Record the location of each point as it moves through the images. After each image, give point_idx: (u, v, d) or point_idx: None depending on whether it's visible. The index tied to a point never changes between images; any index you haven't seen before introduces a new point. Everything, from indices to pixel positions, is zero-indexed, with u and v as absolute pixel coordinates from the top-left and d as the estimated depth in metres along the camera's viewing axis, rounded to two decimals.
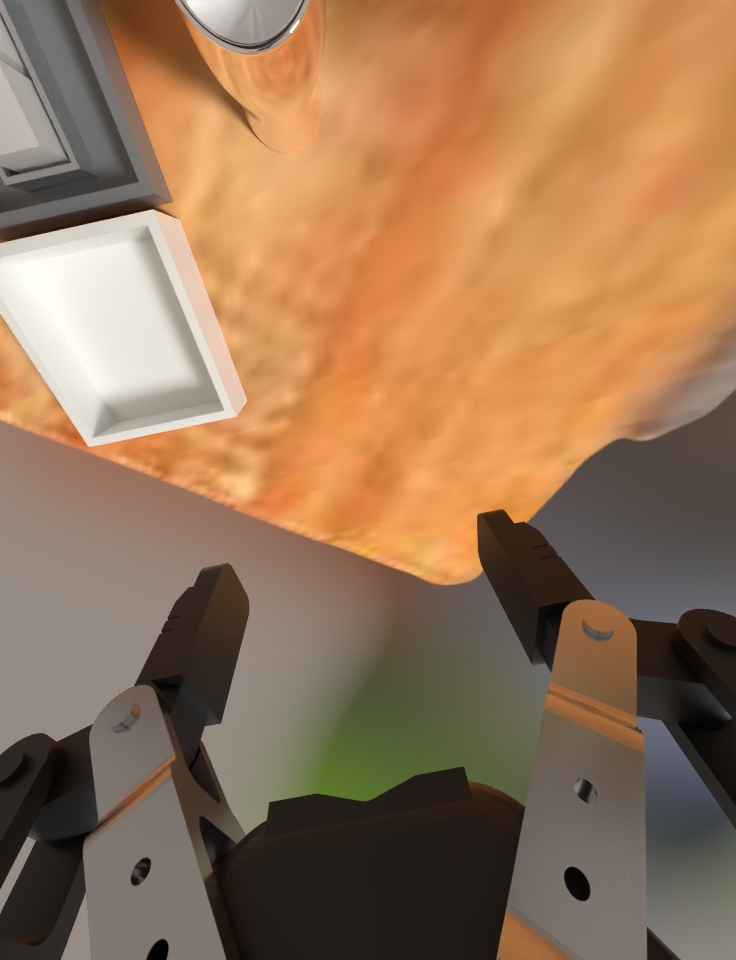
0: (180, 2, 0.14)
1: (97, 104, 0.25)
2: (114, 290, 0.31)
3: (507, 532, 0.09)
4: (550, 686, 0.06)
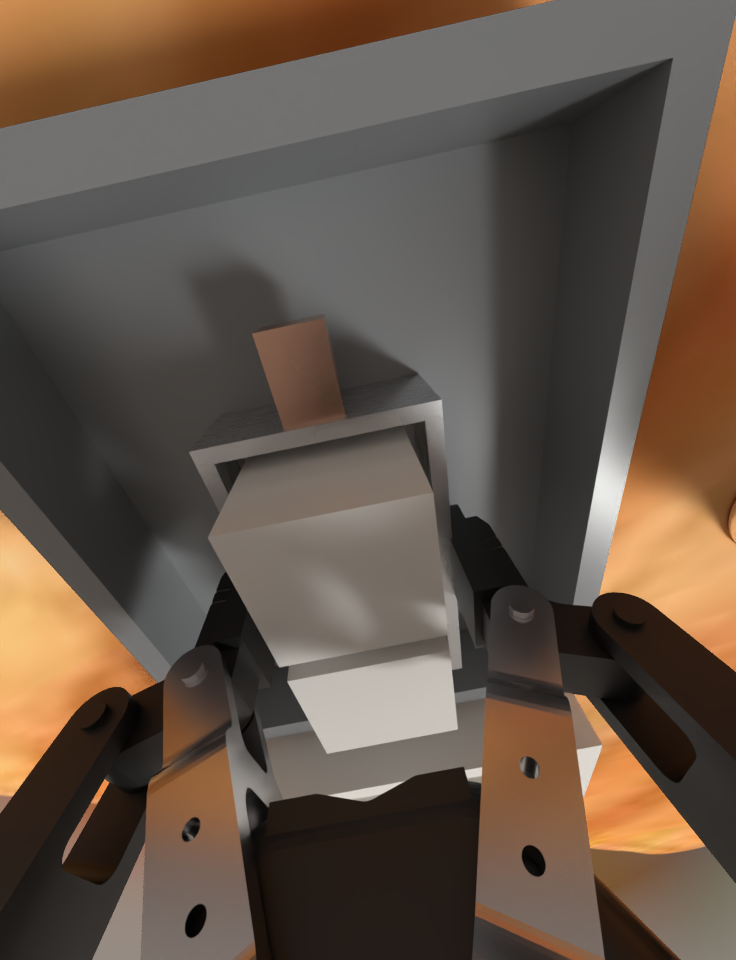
0: None
1: None
2: None
3: (457, 525, 0.10)
4: (488, 674, 0.06)
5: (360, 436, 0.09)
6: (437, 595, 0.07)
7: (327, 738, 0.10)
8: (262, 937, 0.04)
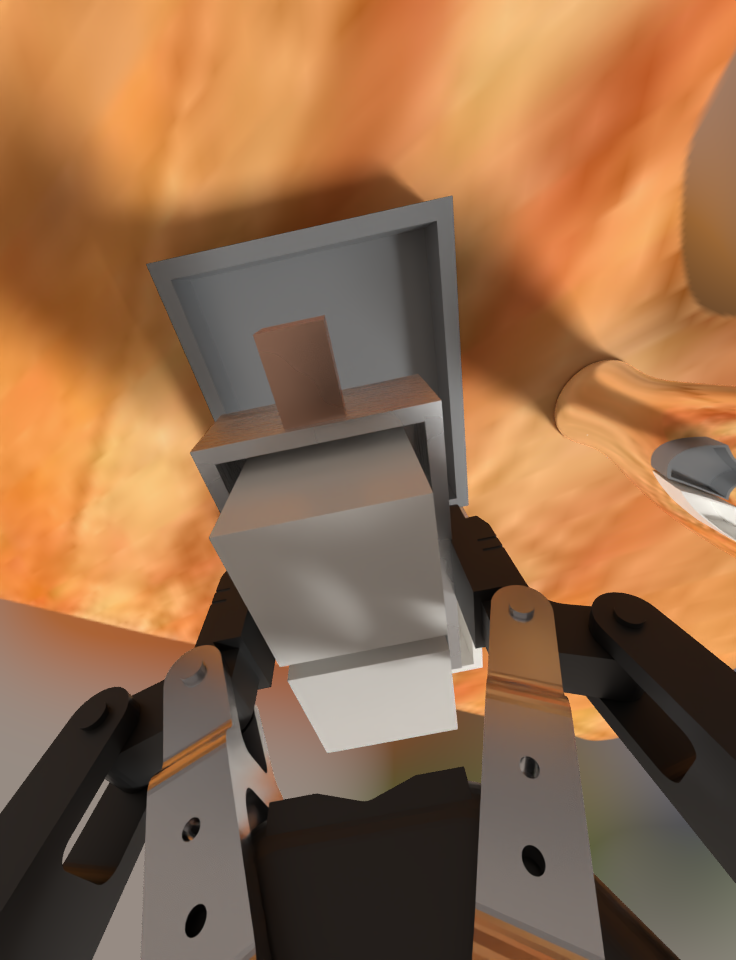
0: None
1: None
2: None
3: (457, 525, 0.10)
4: (488, 674, 0.06)
5: (360, 436, 0.09)
6: (437, 595, 0.07)
7: (327, 737, 0.10)
8: (262, 937, 0.04)
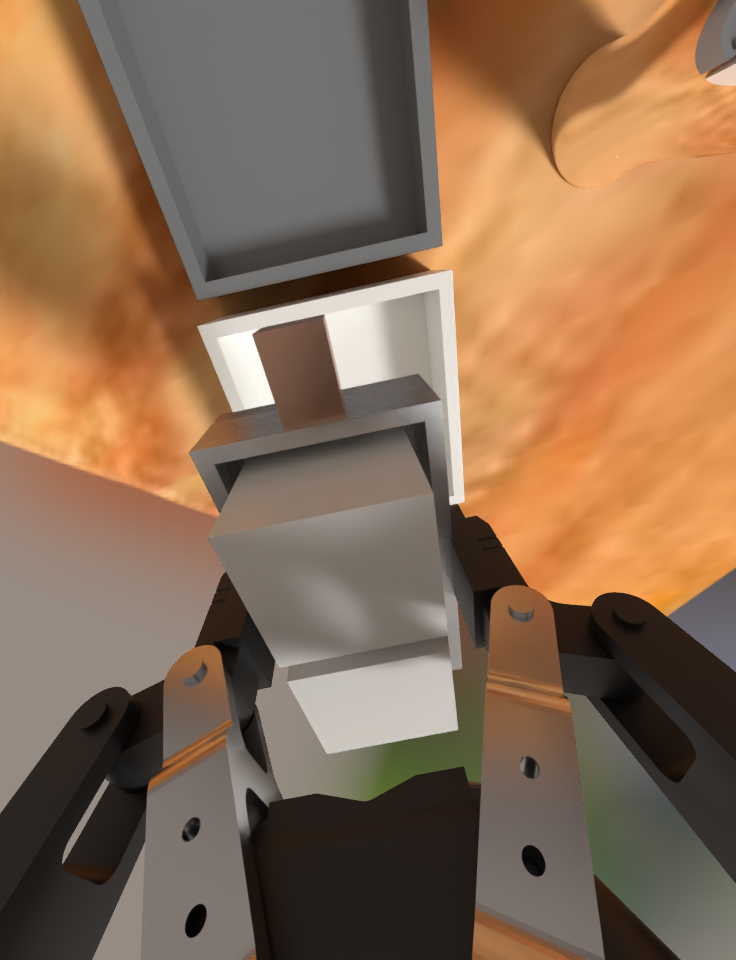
0: None
1: (378, 131, 0.19)
2: (335, 356, 0.25)
3: (457, 525, 0.10)
4: (489, 674, 0.06)
5: (360, 436, 0.09)
6: (437, 595, 0.07)
7: (327, 738, 0.10)
8: (262, 937, 0.04)
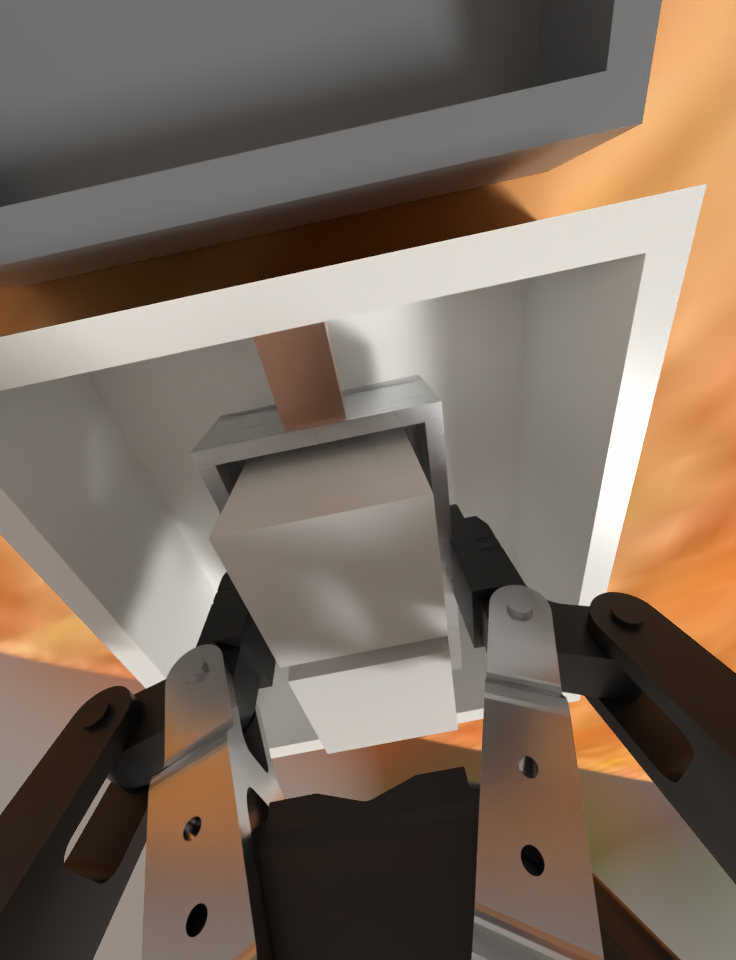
0: None
1: None
2: None
3: (456, 525, 0.10)
4: (487, 674, 0.06)
5: (360, 437, 0.09)
6: (437, 596, 0.07)
7: (327, 738, 0.10)
8: (263, 937, 0.04)
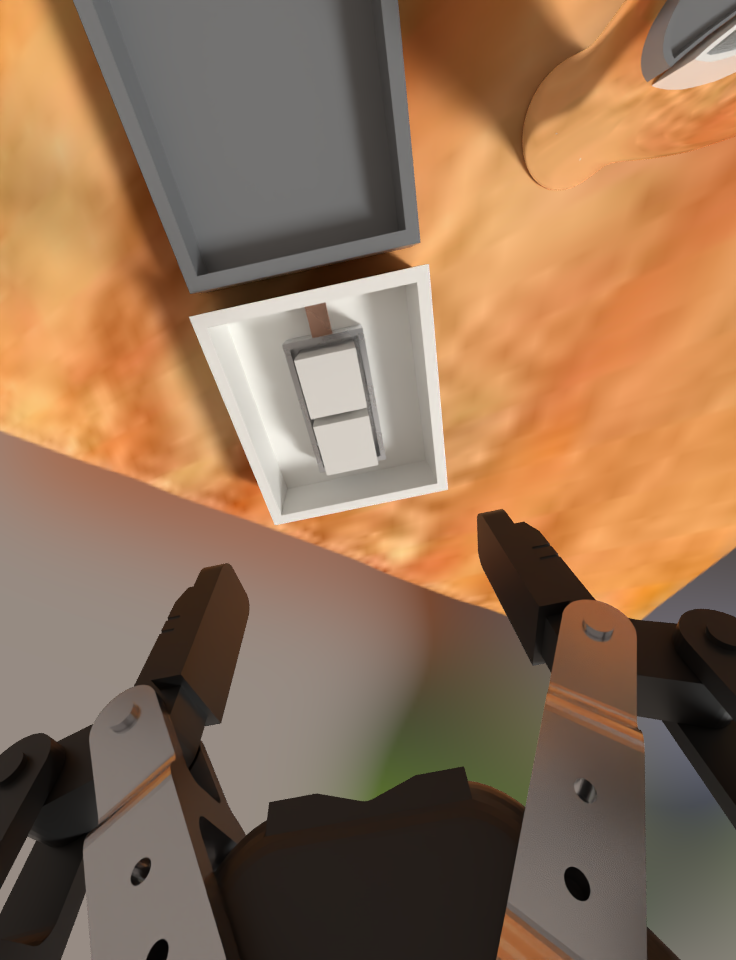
0: None
1: (359, 136, 0.20)
2: None
3: (507, 532, 0.09)
4: (550, 686, 0.06)
5: (338, 343, 0.25)
6: (361, 388, 0.23)
7: (327, 464, 0.26)
8: (232, 948, 0.04)
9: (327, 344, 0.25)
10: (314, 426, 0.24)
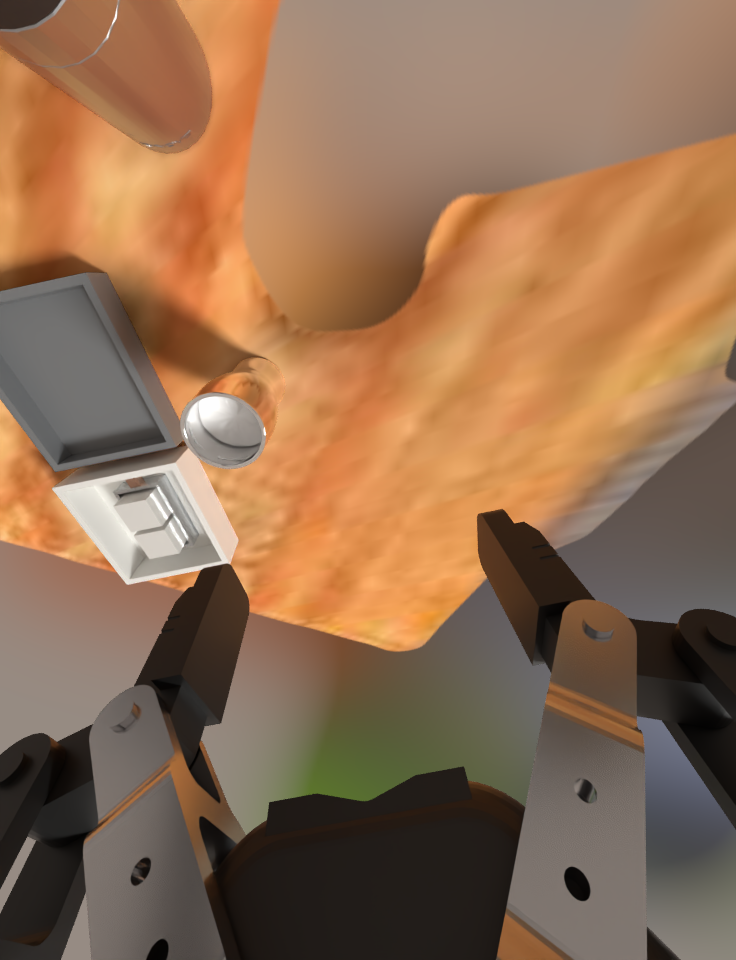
0: (197, 456, 0.28)
1: (140, 395, 0.39)
2: None
3: (507, 532, 0.09)
4: (550, 686, 0.06)
5: (148, 488, 0.43)
6: (155, 517, 0.42)
7: (147, 553, 0.45)
8: (232, 948, 0.04)
9: None
10: (134, 535, 0.43)
